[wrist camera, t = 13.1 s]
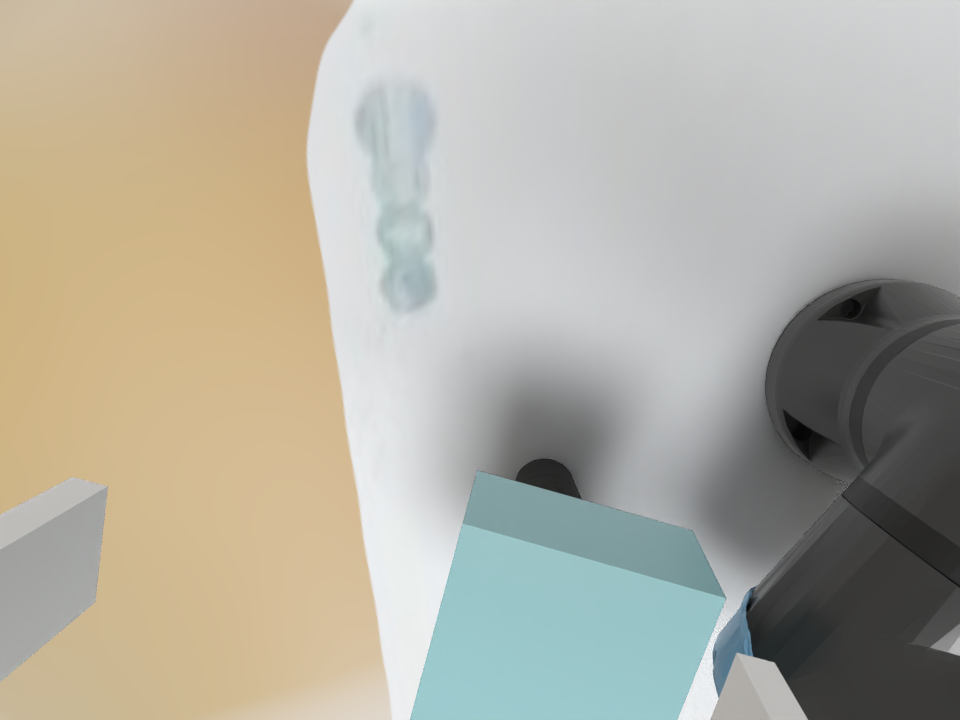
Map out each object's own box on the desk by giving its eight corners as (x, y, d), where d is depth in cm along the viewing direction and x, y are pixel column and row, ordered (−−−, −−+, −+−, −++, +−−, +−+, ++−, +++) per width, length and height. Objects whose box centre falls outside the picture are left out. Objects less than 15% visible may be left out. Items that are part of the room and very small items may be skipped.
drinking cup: (598, 523, 48) (646, 715, 29) (506, 535, 49) (492, 729, 30) (584, 435, 47) (624, 574, 27) (490, 449, 48) (463, 594, 28)
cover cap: (692, 530, 32) (726, 598, 26) (625, 709, 34) (642, 807, 29) (477, 470, 32) (462, 523, 26) (428, 651, 35) (405, 735, 29)
